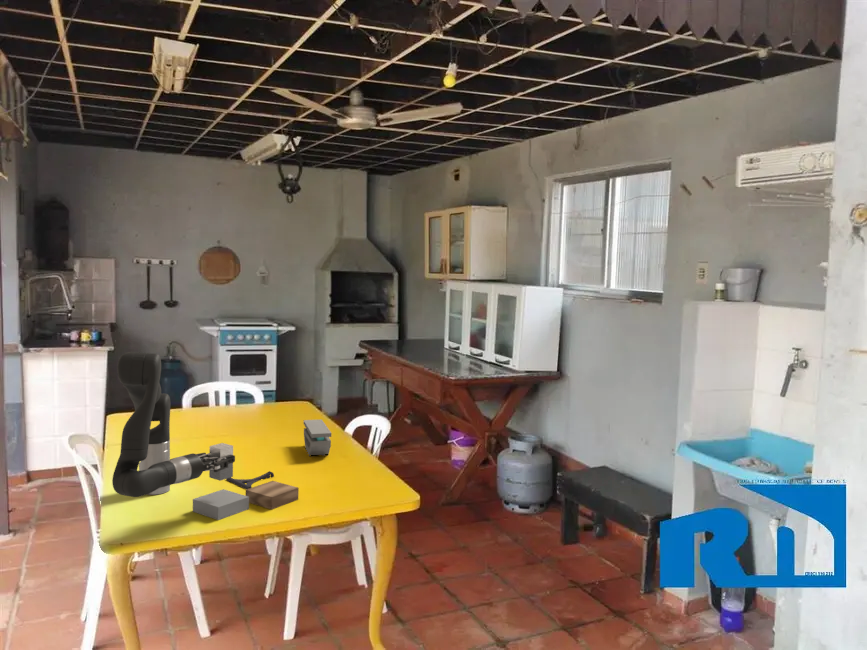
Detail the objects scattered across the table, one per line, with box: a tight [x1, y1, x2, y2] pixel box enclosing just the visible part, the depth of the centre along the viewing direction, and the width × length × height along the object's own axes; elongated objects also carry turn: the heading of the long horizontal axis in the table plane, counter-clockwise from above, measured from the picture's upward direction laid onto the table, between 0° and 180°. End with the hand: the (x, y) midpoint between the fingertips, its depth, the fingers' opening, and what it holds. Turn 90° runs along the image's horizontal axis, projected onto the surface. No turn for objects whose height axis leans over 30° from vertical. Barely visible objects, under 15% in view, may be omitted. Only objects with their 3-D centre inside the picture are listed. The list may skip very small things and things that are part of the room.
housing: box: [208, 442, 234, 481], centre depth 213 cm, size 5×5×10 cm
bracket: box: [225, 470, 275, 490], centre depth 245 cm, size 14×15×3 cm
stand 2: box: [245, 480, 300, 510], centre depth 225 cm, size 12×12×4 cm
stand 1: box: [192, 488, 250, 521], centre depth 214 cm, size 12×12×4 cm
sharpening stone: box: [303, 419, 332, 457], centre depth 284 cm, size 25×8×11 cm, turn 18°
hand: (227, 456), depth 215 cm, fingers closed on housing, 5 cm apart
